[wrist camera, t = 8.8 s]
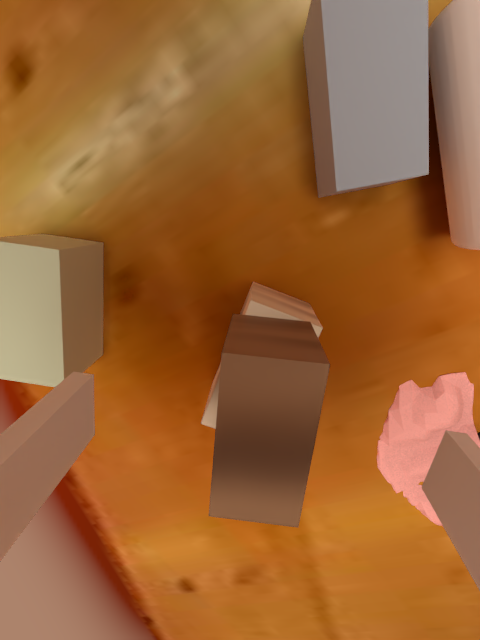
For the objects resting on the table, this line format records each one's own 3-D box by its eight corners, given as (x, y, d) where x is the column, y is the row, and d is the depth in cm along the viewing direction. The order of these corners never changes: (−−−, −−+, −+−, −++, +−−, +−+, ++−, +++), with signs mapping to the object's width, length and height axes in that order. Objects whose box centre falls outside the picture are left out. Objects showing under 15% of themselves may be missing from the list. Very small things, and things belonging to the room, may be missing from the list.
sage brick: (44, 233, 21) (-19, 238, 16) (104, 242, 21) (59, 250, 16) (50, 345, 24) (-3, 378, 19) (103, 353, 24) (64, 388, 19)
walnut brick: (232, 313, 17) (221, 352, 12) (310, 321, 17) (330, 364, 12) (221, 441, 19) (208, 516, 14) (289, 449, 19) (298, 527, 14)
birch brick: (253, 281, 21) (250, 300, 16) (309, 303, 21) (323, 328, 17) (212, 381, 24) (200, 423, 19) (263, 400, 24) (264, 446, 19)
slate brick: (302, 39, 17) (318, -30, 12) (380, 20, 17) (427, -58, 12) (318, 197, 19) (336, 191, 15) (386, 185, 19) (428, 174, 14)
